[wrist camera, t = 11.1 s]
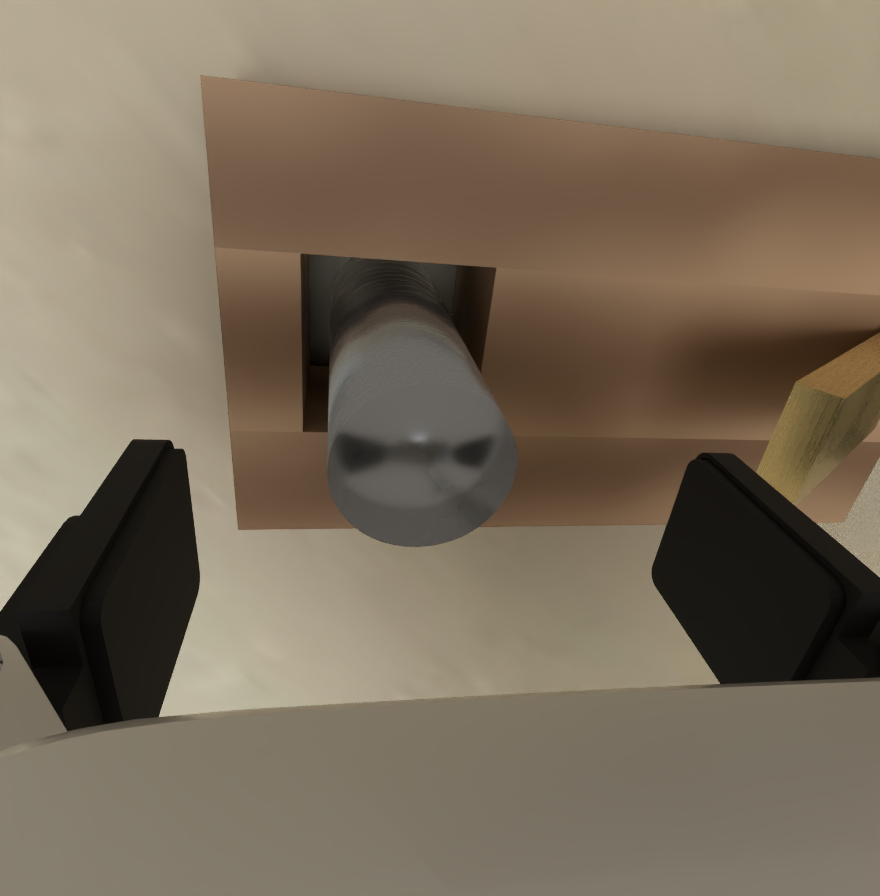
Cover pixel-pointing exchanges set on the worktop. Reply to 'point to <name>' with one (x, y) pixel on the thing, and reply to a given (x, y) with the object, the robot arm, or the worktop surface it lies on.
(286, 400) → the walnut block
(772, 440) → the bar
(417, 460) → the steel pin
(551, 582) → the worktop surface
